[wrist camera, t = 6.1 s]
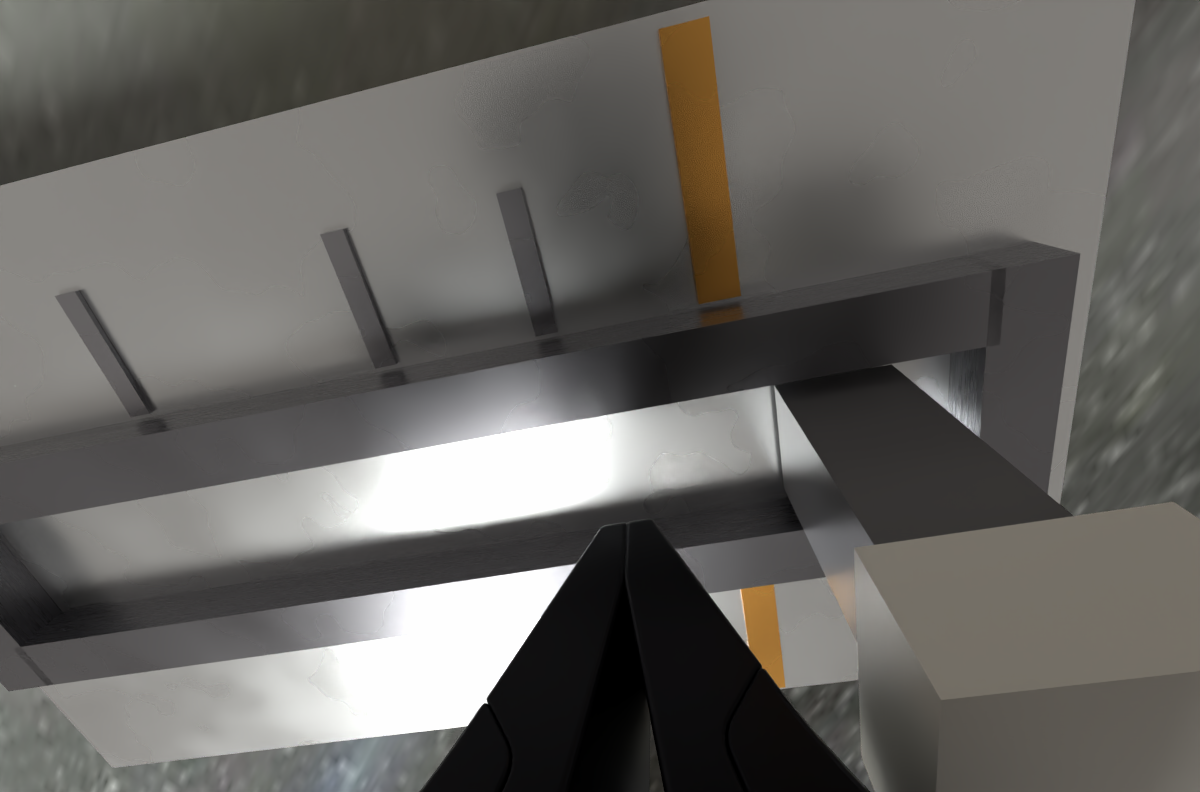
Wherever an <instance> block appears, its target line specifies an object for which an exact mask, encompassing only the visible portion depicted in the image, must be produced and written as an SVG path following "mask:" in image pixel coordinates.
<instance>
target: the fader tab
mask: <svg viewBox="0 0 1200 792" xmlns="http://www.w3.org/2000/svg"><path fill="white" fill-rule="evenodd" d="M774 389H775V400H776V410H777V421H778V431H779V442H780V452H781V463H782V473H783V484H784V489H785V491H786V493H787V496H788V498H789V500H790V502H791V504H792V506H793V508H794V510H795V512H796V515H797V517H798V519H799V521H800V523H801V525H802V527H803V529H804V532H805V534H806V536H807V538H808V540H809V542H810V544H811V546H812V549H813V551H814V553H815V555H816V557H817V559H818V561H819V563H820V566H821V568H822V570H823V572H824V574H825V576H826V578H827V580H828V582H829V585H830V587H831V589H832V591H833V593H834V595H835V597H836V599H837V602H838V604H839V606H840V608H841V610H842V612H843V614H844V616H845V619H846V621H847V623H848V625H849V627H850V629H851V631H852V633H853V635H854V638H855V640H856V642H857V651H858V680H859V708H860V736H861V758H862V760H863V763H864V765H865V768H866V770H867V773H868V776H869V778H870V781H871V783H872V786H873V788H874V791H875V792H1200V519H1199V518H1197V517H1196V516H1194V515H1193V514H1191V513H1190V512H1188V511H1187V510H1185V509H1183V508H1182V507H1180V506H1179V505H1177V504H1176V503H1174V502H1168V503H1161V504H1154V505H1147V506H1140V507H1133V508H1126V509H1120V510H1113V511H1106V512H1099V513H1092V514H1085V515H1078V516H1073V515H1072V514H1071V513H1070V512H1068V511H1067V510H1066V509H1065V508H1064V507H1062V506H1061V505H1060V504H1059V503H1058V502H1056V501H1055V500H1054V499H1053V498H1052V497H1050V496H1049V495H1048V494H1047V493H1046V492H1044V491H1043V490H1042V489H1041V488H1040V487H1038V486H1037V485H1036V484H1035V483H1034V482H1032V481H1031V480H1030V479H1029V478H1028V477H1026V476H1025V475H1024V474H1023V473H1022V472H1020V471H1019V470H1018V469H1017V468H1015V467H1014V466H1013V465H1012V464H1011V463H1009V462H1008V461H1007V460H1006V459H1005V458H1003V457H1002V456H1001V455H1000V454H999V453H997V452H996V451H995V450H994V449H993V448H991V447H990V446H989V445H988V444H987V443H985V442H984V441H983V440H982V439H981V438H979V437H978V436H977V435H976V434H975V433H973V432H972V431H971V430H970V429H969V428H967V427H966V426H965V425H964V424H963V423H961V422H960V421H959V420H958V419H957V418H955V417H954V416H953V415H952V414H951V413H949V412H948V411H947V410H946V409H945V408H943V407H942V406H941V405H940V404H939V403H937V402H936V401H935V400H934V399H933V398H931V397H930V396H929V395H928V394H927V393H925V392H924V391H923V390H922V389H921V388H919V387H918V386H917V385H916V384H915V383H913V382H912V381H911V380H910V379H909V378H907V377H906V376H905V375H904V374H903V373H901V372H900V371H899V370H898V369H897V368H895V367H894V366H893V365H892V364H891V365H885V366H879V367H874V368H868V369H863V370H857V371H852V372H846V373H840V374H835V375H829V376H824V377H818V378H813V379H807V380H802V381H796V382H790V383H785V384H779V385H774Z"/></svg>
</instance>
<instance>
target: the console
mask: <svg viewBox="0 0 1200 792" xmlns="http://www.w3.org/2000/svg"><path fill="white" fill-rule="evenodd" d="M1134 7H1135V0H707V1H703V2H699V3H696V4H692V5H688V6H684V7H680V8H677V9H673V10H669V11H665V12H661V13H657V14H654V15H650V16H646V17H642V18H638V19H635V20H631V21H627V22H623V23H619V24H615V25H612V26H608V27H604V28H600V29H596V30H592V31H589V32H585V33H581V34H577V35H573V36H570V37H566V38H562V39H558V40H554V41H550V42H547V43H543V44H539V45H535V46H531V47H528V48H524V49H520V50H516V51H512V52H508V53H505V54H501V55H497V56H493V57H489V58H486V59H482V60H478V61H474V62H470V63H466V64H463V65H459V66H455V67H451V68H447V69H443V70H440V71H436V72H432V73H428V74H424V75H421V76H417V77H413V78H409V79H405V80H401V81H398V82H394V83H390V84H386V85H382V86H379V87H375V88H371V89H367V90H363V91H359V92H356V93H352V94H348V95H344V96H340V97H336V98H333V99H329V100H325V101H321V102H317V103H314V104H310V105H306V106H302V107H298V108H294V109H291V110H287V111H283V112H279V113H275V114H272V115H268V116H264V117H260V118H256V119H252V120H249V121H245V122H241V123H237V124H233V125H230V126H226V127H222V128H218V129H214V130H210V131H207V132H203V133H199V134H195V135H191V136H187V137H184V138H180V139H176V140H172V141H168V142H165V143H161V144H157V145H153V146H149V147H145V148H142V149H138V150H134V151H130V152H126V153H123V154H119V155H115V156H111V157H107V158H103V159H100V160H96V161H92V162H88V163H84V164H81V165H77V166H73V167H69V168H65V169H61V170H58V171H54V172H50V173H46V174H42V175H38V176H35V177H31V178H27V179H23V180H19V181H16V182H12V183H8V184H4V185H0V682H1V683H2V684H3V686H4V687H5V688H6V689H7V690H8V691H13V690H20V689H27V688H34V687H40V688H41V689H42V690H43V692H44V693H45V694H46V695H47V696H48V697H49V698H50V699H51V700H52V701H53V703H54V704H55V705H56V706H57V707H58V708H59V709H60V710H61V711H62V712H63V714H64V715H65V716H66V717H67V718H68V719H69V720H70V721H71V722H72V723H73V725H74V726H75V727H76V728H77V729H78V730H79V731H80V732H81V733H82V734H83V736H84V737H85V738H86V739H87V740H88V741H89V742H90V743H91V744H92V745H93V747H94V748H95V749H96V750H97V751H98V752H99V753H100V754H101V755H102V756H103V757H104V759H105V760H106V761H107V762H108V763H109V764H110V765H111V766H112V767H113V768H115V767H123V766H132V765H140V764H149V763H157V762H166V761H174V760H183V759H191V758H200V757H208V756H217V755H225V754H234V753H242V752H251V751H259V750H268V749H276V748H285V747H293V746H302V745H310V744H319V743H327V742H336V741H344V740H353V739H361V738H370V737H378V736H387V735H395V734H404V733H412V732H420V731H429V730H437V729H446V728H454V727H463V726H468V724H469V723H470V721H471V720H472V718H473V717H474V715H475V714H476V712H477V711H478V709H479V708H480V707H481V705H482V704H483V703H487V701H486V699H487V696H488V695H489V693H490V692H491V690H492V689H493V687H494V686H495V684H496V683H497V682H498V680H499V679H500V677H501V676H502V674H503V673H504V671H505V670H506V668H507V667H508V665H509V664H510V662H511V661H512V659H513V658H514V656H515V655H516V653H517V652H518V650H519V649H520V647H521V646H522V644H523V643H524V641H525V640H526V638H527V637H528V635H529V634H530V632H531V631H532V629H533V628H534V626H535V625H536V623H537V622H538V620H539V619H540V617H541V616H542V614H543V613H544V611H545V610H546V608H547V607H548V605H549V604H550V602H551V601H552V599H553V598H554V596H555V595H556V593H557V592H558V590H559V589H560V587H561V586H562V584H563V583H564V581H565V580H566V578H567V577H568V575H569V574H570V572H571V571H572V569H573V568H574V566H575V565H576V563H577V562H578V560H579V559H580V557H581V556H582V554H583V553H584V551H585V550H586V548H587V547H588V545H589V544H590V542H591V541H592V539H593V538H594V536H595V535H596V534H597V532H598V531H599V529H600V528H601V527H602V526H605V525H610V524H616V523H623V522H625V523H628V522H630V521H635V520H642V519H652V520H653V521H654V522H655V523H656V524H657V525H658V527H659V528H660V530H661V531H662V532H663V534H664V535H665V536H666V538H667V539H668V540H669V542H670V543H671V544H672V546H673V547H674V548H675V550H676V551H677V552H678V554H679V555H680V556H681V558H682V559H683V560H684V562H685V563H686V564H687V566H688V567H689V568H690V570H691V571H692V572H693V574H694V575H695V576H696V578H697V579H698V580H699V582H700V583H701V584H702V586H703V587H704V588H705V590H706V591H707V592H708V594H709V595H710V596H711V598H712V599H713V600H714V602H715V603H716V604H717V606H718V607H719V608H720V610H721V611H722V612H723V614H724V615H725V616H726V618H727V619H728V620H729V622H730V623H731V624H732V626H733V627H734V629H735V630H736V631H737V633H738V634H739V635H740V637H741V638H742V639H743V641H744V642H745V643H746V645H747V646H748V647H749V649H750V650H751V651H752V653H753V654H754V655H755V657H756V658H757V659H758V661H759V662H760V663H761V665H762V668H763V669H765V670H766V671H767V672H768V673H769V675H770V676H771V677H772V679H773V680H774V681H775V683H776V684H777V685H778V687H779V688H780V689H786V688H794V687H802V686H811V685H819V684H828V683H836V682H845V681H853V680H858V651H857V642H856V640H855V638H854V635H853V633H852V631H851V629H850V627H849V625H848V623H847V621H846V619H845V616H844V614H843V612H842V610H841V608H840V606H839V604H838V602H837V599H836V597H835V595H834V593H833V591H832V589H831V587H830V585H829V582H828V580H827V578H826V576H825V574H824V572H823V570H822V568H821V566H820V563H819V561H818V559H817V557H816V555H815V553H814V551H813V549H812V546H811V544H810V542H809V540H808V538H807V536H806V534H805V532H804V529H803V527H802V525H801V523H800V521H799V519H798V517H797V515H796V512H795V510H794V508H793V506H792V504H791V502H790V500H789V498H788V496H787V493H786V491H785V489H784V484H783V473H782V463H781V452H780V442H779V431H778V421H777V410H776V400H775V389H774V385H779V384H785V383H790V382H796V381H802V380H807V379H813V378H818V377H824V376H829V375H835V374H840V373H846V372H852V371H857V370H863V369H868V368H874V367H879V366H885V365H891V364H892V365H893V366H894V367H895V368H897V369H898V370H899V371H900V372H901V373H903V374H904V375H905V376H906V377H907V378H909V379H910V380H911V381H912V382H913V383H915V384H916V385H917V386H918V387H919V388H921V389H922V390H923V391H924V392H925V393H927V394H928V395H929V396H930V397H931V398H933V399H934V400H935V401H936V402H937V403H939V404H940V405H941V406H942V407H943V408H945V409H946V410H947V411H948V412H949V413H951V414H952V415H953V416H954V417H955V418H957V419H958V420H959V421H960V422H961V423H963V424H964V425H965V426H966V427H967V428H969V429H970V430H971V431H972V432H973V433H975V434H976V435H977V436H978V437H979V438H981V439H982V440H983V441H984V442H985V443H987V444H988V445H989V446H990V447H991V448H993V449H994V450H995V451H996V452H997V453H999V454H1000V455H1001V456H1002V457H1003V458H1005V459H1006V460H1007V461H1008V462H1009V463H1011V464H1012V465H1013V466H1014V467H1015V468H1017V469H1018V470H1019V471H1020V472H1022V473H1023V474H1024V475H1025V476H1026V477H1028V478H1029V479H1030V480H1031V481H1032V482H1034V483H1035V484H1036V485H1037V486H1038V487H1040V488H1041V489H1042V490H1043V491H1044V492H1046V493H1047V494H1048V495H1049V496H1050V497H1052V498H1053V499H1054V500H1055V501H1056V502H1058V503H1059V504H1060V501H1061V494H1062V487H1063V481H1064V474H1065V467H1066V461H1067V454H1068V447H1069V441H1070V434H1071V427H1072V421H1073V414H1074V407H1075V401H1076V394H1077V387H1078V380H1079V374H1080V367H1081V360H1082V354H1083V347H1084V340H1085V334H1086V327H1087V320H1088V314H1089V307H1090V300H1091V294H1092V287H1093V280H1094V274H1095V267H1096V260H1097V254H1098V247H1099V240H1100V234H1101V227H1102V220H1103V214H1104V207H1105V200H1106V194H1107V187H1108V180H1109V174H1110V167H1111V160H1112V154H1113V147H1114V140H1115V134H1116V127H1117V120H1118V114H1119V107H1120V100H1121V94H1122V87H1123V80H1124V74H1125V67H1126V60H1127V54H1128V47H1129V40H1130V34H1131V27H1132V20H1133V13H1134Z"/></svg>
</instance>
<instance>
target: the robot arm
mask: <svg viewBox="0 0 1200 792" xmlns="http://www.w3.org/2000/svg"><path fill="white" fill-rule="evenodd" d="M486 701H487V703H483V704H482V705H481V707H480V708H479V709H478V711H477V712H476V714H475V715H474V717H473V718H472V720H471V721H470V723H469V724H468V726H467V727H466V729H465V730H464V732H463V733H462V735H461V736H460V737H459V739H458V740H457V742H456V743H455V744H454V746H453V747H452V749H451V750H450V752H449V753H448V754H447V756H446V757H445V759H444V760H443V761H442V763H441V764H440V766H439V767H438V768H437V770H436V771H435V772H434V774H433V775H432V776H431V778H430V779H429V780H428V781H427V783H426V784H425V785H424V787H423V788H422V789H421V790H420V792H649V781H650V720H651V725H652V730H653V735H654V740H655V745H656V751H657V756H658V761H659V766H660V771H661V776H662V782H663V787H664V792H870V791H869V790H868V789H867V788H866V787H865V786H864V785H863V784H862V783H861V782H860V781H859V779H858V778H857V777H856V776H855V775H854V774H853V773H852V772H851V771H850V770H849V769H848V768H847V767H846V766H845V765H844V764H843V762H842V761H841V760H840V759H839V758H838V757H837V756H836V755H835V754H834V753H833V751H832V750H831V749H830V748H829V747H828V746H827V745H826V744H825V743H824V741H823V740H822V739H821V738H820V737H819V736H818V735H817V734H816V733H815V732H814V730H813V729H812V728H811V727H810V726H809V725H808V723H807V722H806V721H805V720H804V718H803V717H802V716H801V715H800V713H799V712H798V711H797V710H796V708H795V707H794V706H793V705H792V703H791V702H790V701H789V700H788V698H787V697H786V696H785V695H784V693H783V692H782V691H781V690H780V688H779V687H778V685H777V684H776V683H775V681H774V680H773V679H772V677H771V676H770V675H769V673H768V672H767V671H766V670H765V669H763V668H762V665H761V663H760V662H759V661H758V659H757V658H756V657H755V655H754V654H753V653H752V651H751V650H750V649H749V647H748V646H747V645H746V643H745V642H744V641H743V639H742V638H741V637H740V635H739V634H738V633H737V631H736V630H735V629H734V627H733V626H732V624H731V623H730V622H729V620H728V619H727V618H726V616H725V615H724V614H723V612H722V611H721V610H720V608H719V607H718V606H717V604H716V603H715V602H714V600H713V599H712V598H711V596H710V595H709V594H708V592H707V591H706V590H705V588H704V587H703V586H702V584H701V583H700V582H699V580H698V579H697V578H696V576H695V575H694V574H693V572H692V571H691V570H690V568H689V567H688V566H687V564H686V563H685V562H684V560H683V559H682V558H681V556H680V555H679V554H678V552H677V551H676V550H675V548H674V547H673V546H672V544H671V543H670V542H669V540H668V539H667V538H666V536H665V535H664V534H663V532H662V531H661V530H660V528H659V527H658V525H657V524H656V523H655V522H654V521H653V520H652V519H642V520H635V521H630V522H628V523H625V522H623V523H616V524H610V525H605V526H602V527H601V528H600V529H599V531H598V532H597V534H596V535H595V536H594V538H593V539H592V541H591V542H590V544H589V545H588V547H587V548H586V550H585V551H584V553H583V554H582V556H581V557H580V559H579V560H578V562H577V563H576V565H575V566H574V568H573V569H572V571H571V572H570V574H569V575H568V577H567V578H566V580H565V581H564V583H563V584H562V586H561V587H560V589H559V590H558V592H557V593H556V595H555V596H554V598H553V599H552V601H551V602H550V604H549V605H548V607H547V608H546V610H545V611H544V613H543V614H542V616H541V617H540V619H539V620H538V622H537V623H536V625H535V626H534V628H533V629H532V631H531V632H530V634H529V635H528V637H527V638H526V640H525V641H524V643H523V644H522V646H521V647H520V649H519V650H518V652H517V653H516V655H515V656H514V658H513V659H512V661H511V662H510V664H509V665H508V667H507V668H506V670H505V671H504V673H503V674H502V676H501V677H500V679H499V680H498V682H497V683H496V684H495V686H494V687H493V689H492V690H491V692H490V693H489V695H488V696H487V699H486Z"/></svg>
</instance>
